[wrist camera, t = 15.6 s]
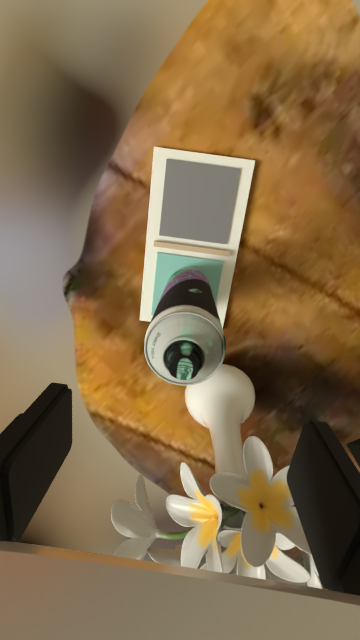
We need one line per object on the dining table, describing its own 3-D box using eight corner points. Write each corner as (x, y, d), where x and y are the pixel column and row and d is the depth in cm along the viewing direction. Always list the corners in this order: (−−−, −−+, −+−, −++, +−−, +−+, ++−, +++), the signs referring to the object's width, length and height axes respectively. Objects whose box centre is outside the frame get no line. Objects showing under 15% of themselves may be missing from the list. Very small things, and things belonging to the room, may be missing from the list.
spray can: (200, 259, 33) (210, 308, 14) (216, 300, 35) (245, 392, 16) (158, 277, 34) (118, 345, 15) (176, 316, 36) (160, 421, 17)
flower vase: (138, 369, 40) (59, 582, 16) (262, 325, 37) (386, 508, 13) (173, 437, 44) (151, 689, 20) (288, 402, 41) (421, 651, 17)
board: (253, 162, 31) (256, 159, 29) (221, 329, 37) (222, 333, 36) (155, 148, 30) (153, 144, 29) (140, 318, 37) (138, 321, 36)
